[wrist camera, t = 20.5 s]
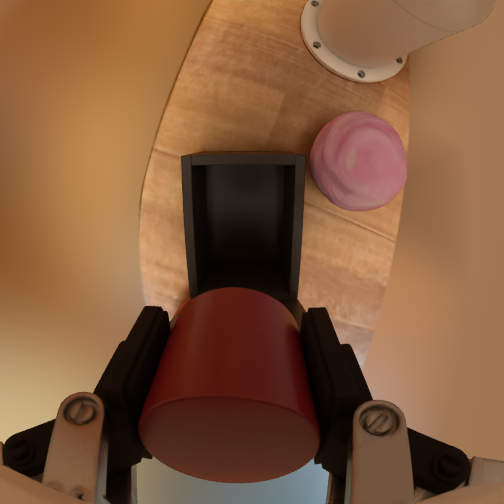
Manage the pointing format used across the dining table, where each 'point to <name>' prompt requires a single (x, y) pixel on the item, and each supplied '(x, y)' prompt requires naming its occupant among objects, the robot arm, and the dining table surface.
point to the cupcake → (358, 161)
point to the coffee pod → (232, 391)
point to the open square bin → (243, 221)
